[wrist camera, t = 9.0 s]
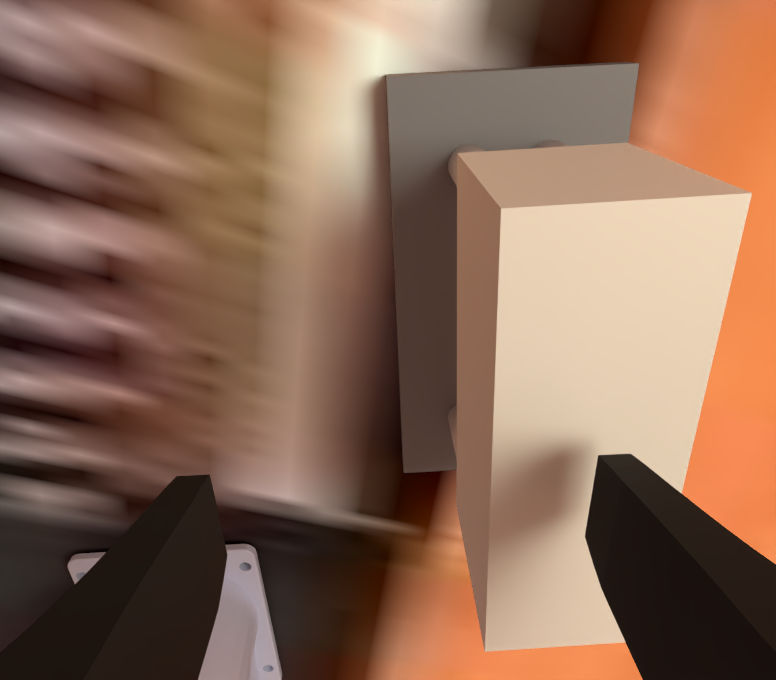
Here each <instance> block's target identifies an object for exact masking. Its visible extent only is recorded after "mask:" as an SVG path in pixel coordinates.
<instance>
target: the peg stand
mask: <svg viewBox="0 0 776 680" xmlns="http://www.w3.org/2000/svg"><path fill="white" fill-rule="evenodd" d="M638 68H639V63H631V62H614V63H595V64H576V65H557V66H538V67H520V68H501V69H482V70H463V71H444V72H425V73H407V74H388V75H386V96H387V119H388V142H389V164H390V187H391V210H392V232H393V255H394V277H395V300H396V323H397V345H398V368H399V390H400V413H401V436H402V457H403V469H404V473H413V472H429V471H446V470H457V153H467V152H483V151H499V150H515V149H532V148H548V147H564V146H581V145H597V144H613V143H628V141H629V133H630V126H631V119H632V112H633V104H634V97H635V90H636V83H637V75H638Z"/></svg>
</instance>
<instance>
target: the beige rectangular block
mask: <svg viewBox="0 0 776 680" xmlns="http://www.w3.org/2000/svg"><path fill="white" fill-rule="evenodd" d="M751 195H752V193H751V192H748V191H746V190H743V189H741V188H738V187H736V186H733V185H731V184H728V183H726V182H723V181H721V180H718V179H716V178H713V177H711V176H708V175H706V174H704V173H701V172H699V171H696V170H694V169H691V168H689V167H686V166H684V165H681V164H679V163H676V162H674V161H671V160H669V159H666V158H664V157H661V156H659V155H656V154H654V153H651V152H649V151H646V150H644V149H641V148H639V147H636V146H634V145H632V144H629V143H613V144H597V145H581V146H564V147H548V148H532V149H515V150H499V151H483V152H467V153H457V510H458V516H459V521H460V526H461V531H462V536H463V541H464V547H465V552H466V557H467V562H468V567H469V572H470V577H471V583H472V588H473V593H474V598H475V603H476V608H477V614H478V619H479V624H480V629H481V634H482V639H483V644H484V650H485V652H486V651H501V650H516V649H531V648H546V647H562V646H577V645H592V644H607V643H622V642H625V640H624V638H623V635H622V633H621V631H620V629H619V627H618V624H617V622H616V620H615V618H614V616H613V613H612V611H611V609H610V607H609V605H608V602H607V600H606V598H605V596H604V593H603V591H602V589H601V586H600V583H599V580H598V577H597V574H596V571H595V568H594V565H593V562H592V558H591V555H590V552H589V549H588V545H587V542H586V539H585V532H586V526H587V520H588V514H589V508H590V501H591V495H592V489H593V483H594V477H595V471H596V465H597V459H598V455H612V454H632V455H633V456H635V457H636V458H637V459H639V460H640V461H641V462H643V463H644V464H645V465H646V466H648V467H649V468H650V469H651V470H653V471H654V472H655V473H656V474H658V475H659V476H660V477H661V478H663V479H664V480H665V481H666V482H668V483H669V484H670V485H671V486H673V487H674V488H675V489H676V490H678V491H679V492H680V493H681V494H682V489H683V485H684V481H685V477H686V472H687V468H688V464H689V459H690V455H691V451H692V447H693V442H694V438H695V434H696V430H697V425H698V421H699V417H700V413H701V408H702V404H703V400H704V396H705V391H706V387H707V383H708V378H709V374H710V370H711V366H712V361H713V357H714V353H715V349H716V344H717V340H718V336H719V332H720V327H721V323H722V319H723V314H724V310H725V306H726V302H727V297H728V293H729V289H730V285H731V280H732V276H733V272H734V268H735V263H736V259H737V255H738V251H739V246H740V242H741V238H742V233H743V229H744V225H745V221H746V216H747V212H748V208H749V204H750V199H751Z"/></svg>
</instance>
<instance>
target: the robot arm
mask: <svg viewBox="0 0 776 680" xmlns="http://www.w3.org/2000/svg"><path fill="white" fill-rule="evenodd" d="M585 539H586V542H587V545H588V549H589V552H590V555H591V558H592V562H593V565H594V568H595V571H596V574H597V577H598V580H599V583H600V586H601V589H602V591H603V593H604V596H605V598H606V600H607V602H608V605H609V607H610V609H611V611H612V613H613V616H614V618H615V620H616V622H617V624H618V627H619V629H620V631H621V633H622V635H623V638H624V640H625V642H626V644H627V646H628V648H629V650H630V653H631V655H632V657H633V659H634V661H635V663H636V666H637V668H638V670H639V672H640V674H641V676H642V679H643V680H776V564H774V563H773V562H771V561H770V560H768V559H767V558H766V557H764V556H763V555H761V554H760V553H758V552H757V551H756V550H754V549H753V548H752V547H750V546H749V545H747V544H746V543H745V542H743V541H742V540H741V539H739V538H738V537H737V536H735V535H734V534H733V533H731V532H730V531H729V530H727V529H726V528H725V527H723V526H722V525H721V524H719V523H718V522H717V521H716V520H714V519H713V518H712V517H710V516H709V515H708V514H706V513H705V512H704V511H703V510H701V509H700V508H699V507H698V506H696V505H695V504H694V503H693V502H691V501H690V500H689V499H688V498H686V497H685V496H684V495H683V494H681V493H680V492H679V491H678V490H676V489H675V488H674V487H673V486H671V485H670V484H669V483H668V482H666V481H665V480H664V479H663V478H661V477H660V476H659V475H658V474H656V473H655V472H654V471H653V470H651V469H650V468H649V467H648V466H646V465H645V464H644V463H643V462H641V461H640V460H639V459H637V458H636V457H635V456H633V455H632V454H612V455H598V459H597V465H596V471H595V477H594V483H593V489H592V495H591V501H590V508H589V514H588V520H587V526H586V532H585ZM244 562H245V563H249V564H245V563H244ZM67 566H68V570H69V572H70V574H71V577H72V579H73V582H74V584H75V585H74V586H72V587H71V588H70V589H69V590H68V591H67V592H66V593H65V594H64V595H63V596H62V597H61V598H60V599H59V600H58V601H57V602H56V603H55V604H54V605H53V606H52V607H51V608H50V609H49V610H48V611H47V612H46V613H45V614H44V615H42V616H41V617H40V618H39V619H38V620H37V621H36V622H35V623H34V624H33V625H31V626H30V627H29V628H28V629H27V630H26V631H25V632H24V633H22V634H21V635H20V636H19V637H18V638H17V639H16V640H14V641H13V642H12V643H11V644H10V645H8V646H7V647H6V648H5V649H4V650H3V651H1V652H0V680H281V679H282V671H281V666H280V661H279V657H278V652H277V647H276V642H275V637H274V633H273V628H272V623H271V618H270V614H269V609H268V604H267V599H266V595H265V590H264V585H263V580H262V576H261V571H260V566H259V561H258V556H257V552H256V550H255V548H254V547H253V546H251V545H249V544H232V545H225V541H224V537H223V532H222V528H221V523H220V519H219V514H218V510H217V505H216V501H215V496H214V492H213V487H212V483H211V478H210V475H195V476H177V477H176V478H175V479H174V480H173V481H172V482H171V483H170V484H169V485H168V486H167V487H166V488H165V489H164V490H163V491H162V492H161V493H160V495H159V496H158V497H157V498H156V499H155V500H154V501H153V502H152V503H151V504H150V506H149V507H148V508H147V509H146V510H145V511H144V512H143V513H142V514H141V515H140V517H139V518H138V519H137V520H136V521H135V522H134V523H133V524H132V525H131V526H130V528H129V529H128V530H127V531H126V532H125V533H124V534H123V535H122V536H121V537H120V538H119V539H118V540H117V541H116V542H115V544H114V545H113V546H112V547H111V548H110V549H109V550H108V551H107V552H98V553H82V554H75V555H74V556H72V557H71V559H70V561H69V563H68V565H67Z"/></svg>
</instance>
